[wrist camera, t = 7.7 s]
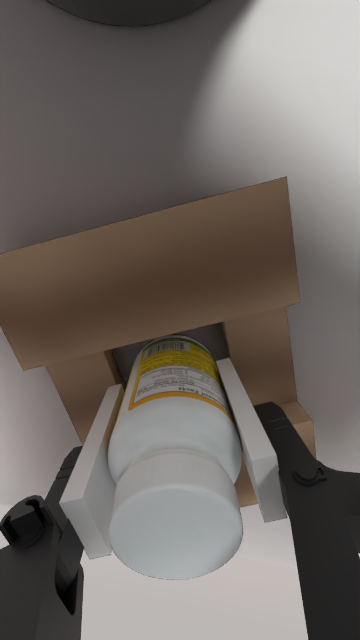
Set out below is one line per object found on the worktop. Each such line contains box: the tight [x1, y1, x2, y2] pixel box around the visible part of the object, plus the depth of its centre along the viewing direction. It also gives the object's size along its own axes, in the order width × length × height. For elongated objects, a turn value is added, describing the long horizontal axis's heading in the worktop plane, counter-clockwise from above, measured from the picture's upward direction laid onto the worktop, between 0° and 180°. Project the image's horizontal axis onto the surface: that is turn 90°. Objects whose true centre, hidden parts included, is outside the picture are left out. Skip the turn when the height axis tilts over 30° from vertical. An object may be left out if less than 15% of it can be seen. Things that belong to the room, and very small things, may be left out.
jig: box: [0, 176, 316, 508], centre depth 15 cm, size 18×14×3 cm
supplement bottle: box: [108, 335, 243, 580], centre depth 12 cm, size 5×5×10 cm
